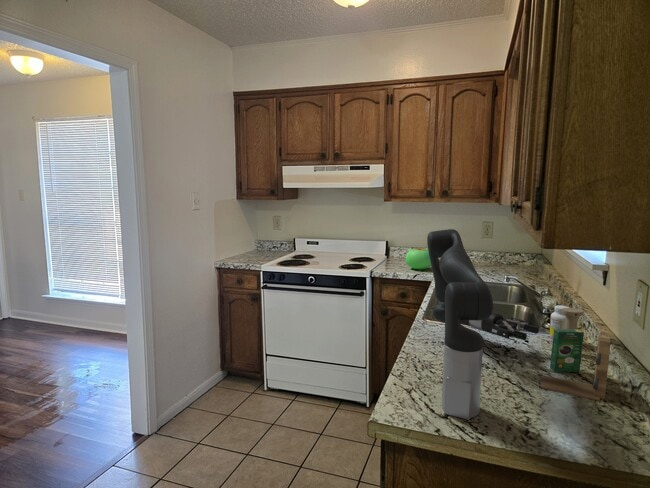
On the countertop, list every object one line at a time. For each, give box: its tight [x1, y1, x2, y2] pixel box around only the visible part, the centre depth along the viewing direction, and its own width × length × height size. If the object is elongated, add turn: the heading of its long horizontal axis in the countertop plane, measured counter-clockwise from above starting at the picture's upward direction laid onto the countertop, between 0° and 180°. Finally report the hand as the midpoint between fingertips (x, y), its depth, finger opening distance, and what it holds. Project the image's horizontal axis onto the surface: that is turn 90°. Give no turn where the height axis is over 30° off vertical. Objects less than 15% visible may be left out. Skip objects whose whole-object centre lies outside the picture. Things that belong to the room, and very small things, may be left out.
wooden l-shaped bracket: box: [540, 328, 611, 402], centre depth 117 cm, size 12×15×16 cm
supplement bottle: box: [549, 304, 570, 343], centre depth 150 cm, size 7×7×13 cm
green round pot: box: [405, 247, 431, 270], centre depth 273 cm, size 18×17×15 cm
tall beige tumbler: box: [561, 307, 585, 329], centre depth 139 cm, size 5×6×15 cm
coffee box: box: [549, 328, 585, 373], centre depth 126 cm, size 8×3×13 cm, turn 89°
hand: (532, 333), depth 134 cm, fingers open, 8 cm apart
